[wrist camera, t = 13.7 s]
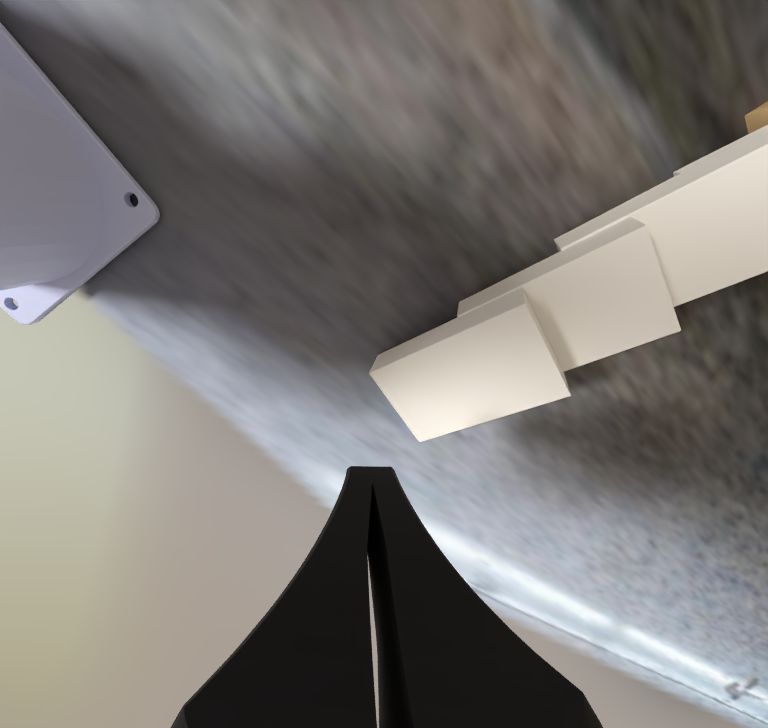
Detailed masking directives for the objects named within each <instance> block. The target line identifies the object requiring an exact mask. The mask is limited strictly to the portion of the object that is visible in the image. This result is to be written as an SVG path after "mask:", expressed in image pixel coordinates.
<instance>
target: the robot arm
mask: <svg viewBox="0 0 768 728" xmlns="http://www.w3.org/2000/svg"><path fill="white" fill-rule="evenodd" d="M131 194H135V195H136V196H137V198H138V205H137V206H136V207H135V206H133V205H132V203H131V202H130V196H131ZM159 216H160V213H159V209H158V207H157V206H156V204H155V203H154V202H153V201H152V199H151V198H150V197H149V196H148V195H147V194H146V192H145V191H144V190H143V189H142V188H141V187H140V185H139V184H138V183H137V182H136V181H135V180H134V178H133V177H132V176H131V175H130V174H129V172H128V171H127V170H126V169H125V168H124V167H123V165H122V164H121V163H120V162H119V161H118V160H117V158H116V157H115V156H114V155H113V154H112V153H111V151H110V150H109V149H108V148H107V147H106V146H105V144H104V143H103V142H102V141H101V140H100V138H99V137H98V136H97V135H96V134H95V133H94V131H93V130H92V129H91V128H90V127H89V126H88V124H87V123H86V122H85V121H84V120H83V119H82V117H81V116H80V115H79V114H78V113H77V112H76V110H75V109H74V108H73V107H72V106H71V104H70V103H69V102H68V101H67V100H66V99H65V97H64V96H63V95H62V94H61V93H60V92H59V90H58V89H57V88H56V87H55V86H54V85H53V83H52V82H51V81H50V80H49V79H48V78H47V76H46V75H45V74H44V73H43V72H42V70H41V69H40V68H39V67H38V66H37V65H36V63H35V62H34V61H33V60H32V59H31V58H30V56H29V55H28V54H27V53H26V52H25V51H24V49H23V48H22V47H21V46H20V45H19V44H18V42H17V41H16V40H15V39H14V38H13V37H12V35H11V34H10V33H9V32H8V31H7V29H6V28H5V27H4V26H3V25H2V24H1V22H0V307H1V308H2V309H4V310H5V311H6V312H7V313H8V314H9V315H10V316H11V317H13V318H14V319H15V320H16V321H18V322H19V323H22V324H25V325H30V324H33V323H36V322H39V321H40V320H41V319H43V318H44V317H45V316H46V315H47V314H49V313H50V312H51V311H52V310H53V309H54V308H56V307H57V306H58V305H59V304H60V303H62V302H63V301H64V300H65V299H66V298H67V297H69V296H70V295H71V294H72V293H74V292H75V291H76V290H77V289H78V288H80V287H81V286H82V285H83V284H84V283H85V282H87V281H88V280H89V279H90V278H91V277H93V276H94V275H95V274H96V273H97V272H99V271H100V270H101V269H102V268H103V267H105V266H106V265H107V264H108V263H109V262H111V261H112V260H113V259H114V258H115V257H116V256H118V255H119V254H120V253H121V252H122V251H124V250H125V249H126V248H127V247H128V246H130V245H131V244H132V243H133V242H134V241H136V240H137V239H138V238H139V237H140V236H142V235H143V234H144V233H145V232H146V231H147V230H149V229H150V228H151V227H152V226H153V225H155V224H156V223H157V221H158V220H159ZM13 299H14V300H16V302H17V303H18V307H17V306H16V305H15V304H14V303H13ZM367 556H368V560H369V570H370V578H371V589H372V599H373V608H374V618H375V628H376V639H377V654H378V688H379V689H378V690H379V691H378V692H379V728H603V727H602V725H601V723H600V721H599V720H598V718H597V716H596V714H595V713H594V711H593V709H592V708H591V706H590V704H589V702H588V701H587V699H586V697H585V696H584V694H583V692H582V691H580V690H579V689H578V688H577V687H576V686H574V685H573V684H572V683H571V682H570V681H569V680H567V679H566V678H565V677H564V676H562V675H561V674H560V673H559V672H558V671H556V670H555V669H554V668H553V667H551V665H549V664H548V663H547V662H546V661H545V660H543V659H542V658H541V657H540V656H539V655H538V654H536V653H535V652H534V651H533V650H532V649H531V648H530V647H529V646H528V645H527V644H525V642H523V641H522V640H521V639H520V638H519V637H518V636H517V635H516V634H515V633H514V632H513V631H512V630H511V629H510V628H509V627H508V626H507V625H506V624H505V623H504V622H503V621H502V620H501V619H500V618H499V617H498V616H497V615H496V614H495V613H494V612H493V611H492V610H491V609H490V608H489V607H488V606H487V605H486V604H485V603H484V601H483V600H482V599H481V598H480V597H479V596H478V595H477V594H476V593H475V592H474V591H473V590H472V588H471V587H470V586H469V585H468V584H467V583H466V581H465V580H464V579H463V578H462V577H461V576H460V574H459V573H458V572H457V571H456V569H455V568H454V567H453V566H452V564H451V563H450V562H449V561H448V559H447V558H446V557H445V555H444V554H443V553H442V551H441V550H440V549H439V547H438V546H437V544H436V543H435V542H434V540H433V539H432V537H431V536H430V534H429V533H428V531H427V530H426V528H425V527H424V525H423V524H422V522H421V520H420V519H419V517H418V515H417V514H416V512H415V510H414V509H413V507H412V505H411V504H410V502H409V500H408V498H407V496H406V494H405V493H404V491H403V489H402V487H401V485H400V482H399V480H398V478H397V476H396V473H395V471H394V469H393V468H392V467H363V466H351V467H349V468H348V469H347V472H346V477H345V481H344V484H343V487H342V489H341V492H340V495H339V497H338V500H337V502H336V504H335V506H334V508H333V510H332V513H331V515H330V517H329V519H328V521H327V523H326V525H325V527H324V528H323V530H322V532H321V534H320V535H319V537H318V539H317V541H316V543H315V544H314V546H313V548H312V549H311V551H310V553H309V554H308V556H307V558H306V559H305V561H304V562H303V564H302V565H301V567H300V568H299V570H298V571H297V573H296V574H295V576H294V577H293V579H292V580H291V581H290V583H289V584H288V586H287V587H286V588H285V590H284V591H283V592H282V594H281V595H280V597H279V598H278V599H277V601H276V602H275V603H274V604H273V606H272V607H271V608H270V610H269V611H268V612H267V613H266V615H265V616H264V617H263V618H262V619H261V621H260V622H259V623H258V625H256V627H255V628H254V629H253V630H252V631H251V633H250V634H249V635H248V636H247V637H246V639H245V640H244V641H243V642H242V643H241V644H240V646H239V647H238V648H237V649H236V650H235V651H234V652H233V654H232V655H231V656H230V657H229V658H228V659H227V660H226V661H225V662H224V663H223V664H222V666H221V667H220V668H219V669H218V670H217V671H216V672H215V673H214V674H213V675H212V676H211V677H210V678H209V679H208V680H207V681H206V682H205V684H203V686H202V687H201V688H200V689H199V690H198V691H197V692H196V693H195V694H194V695H193V696H192V697H191V698H190V699H189V700H188V701H187V702H186V703H185V705H184V706H183V707H182V709H181V710H180V712H179V714H178V716H177V717H176V719H175V721H174V723H173V725H172V727H171V728H377V722H376V707H375V692H374V677H373V661H372V644H371V626H370V607H369V585H368V560H367Z"/></svg>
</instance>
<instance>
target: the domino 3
mask: <svg viewBox="0 0 768 728" xmlns="http://www.w3.org/2000/svg"><path fill="white" fill-rule="evenodd" d="M628 217H632V218H634V219H636V220H638V221H640V222H641V223H643V224H645V225H646V226H647V229H648V232H649V235H650V238H651V241H652V244H653V247H654V250H655V253H656V256H657V259H658V262H659V265H660V268H661V271H662V274H663V277H664V280H665V283H666V286H667V289H668V292H669V295H670V298H671V301H672V304H673V307H675V306H678V305H681V304H683V303H686V302H688V301H691V300H694V299H696V298H699V297H702V296H704V295H707V294H709V293H712V292H715V291H717V290H720V289H723V288H725V287H728V286H730V285H733V284H736V283H738V282H741V281H744V280H746V279H749V278H751V277H754V276H757V275H759V274H762V273H764V272H767V271H768V132H759V133H757V134H755V135H753V136H751V137H749V138H747V139H745V140H743V141H741V142H740V143H738V144H736V145H734V146H732V147H730V148H728V149H726V150H724V151H722V152H720V153H718V154H717V155H715V156H713V157H711V158H709V159H707V160H705V161H703V162H701V163H699V164H697V165H695V166H694V167H692V168H690V169H688V170H686V171H684V172H682V173H680V174H678V175H676V176H674V177H672V178H671V179H669V180H667V181H665V182H663V183H661V184H659V185H657V186H655V187H653V188H651V189H649V190H648V191H646V192H644V193H642V194H640V195H638V196H636V197H634V198H632V199H630V200H628V201H626V202H625V203H623V204H621V205H619V206H617V207H615V208H613V209H611V210H609V211H607V212H605V213H603V214H602V215H600V216H598V217H596V218H594V219H592V220H590V221H588V222H586V223H584V224H582V225H580V226H579V227H577V228H575V229H573V230H571V231H569V232H567V233H565V234H563V235H561V236H559V237H557V238H556V239H554V242H555V244H556V246H557V248H558V251H559V252H560V251H562V250H564V249H566V248H568V247H570V246H572V245H574V244H576V243H578V242H580V241H582V240H584V239H586V238H588V237H590V236H592V235H594V234H596V233H598V232H600V231H602V230H604V229H606V228H608V227H610V226H612V225H614V224H616V223H618V222H620V221H622V220H624V219H626V218H628Z"/></svg>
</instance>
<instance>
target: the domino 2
mask: <svg viewBox="0 0 768 728" xmlns="http://www.w3.org/2000/svg"><path fill="white" fill-rule="evenodd" d="M521 287H522V289H523V291H524V293H525V295H526V297H527V299H528V301H529V303H530V305H531V307H532V309H533V311H534V313H535V315H536V317H537V319H538V321H539V323H540V326H541V328H542V330H543V332H544V334H545V336H546V338H547V340H548V342H549V344H550V346H551V348H552V350H553V352H554V354H555V356H556V358H557V360H558V362H559V364H560V366H561V368H562V370H563V372H564V371H567V370H570V369H573V368H576V367H579V366H582V365H584V364H587V363H590V362H593V361H596V360H599V359H602V358H604V357H607V356H610V355H613V354H616V353H619V352H622V351H624V350H627V349H630V348H633V347H636V346H639V345H642V344H645V343H647V342H650V341H653V340H656V339H659V338H662V337H665V336H667V335H670V334H673V333H676V332H679V331H681V328H680V325H679V322H678V319H677V316H676V313H675V310H674V307H673V304H672V301H671V298H670V295H669V292H668V289H667V286H666V283H665V280H664V277H663V274H662V271H661V268H660V265H659V262H658V259H657V256H656V253H655V250H654V247H653V244H652V241H651V238H650V235H649V232H648V229H647V226H646V225H645V224H643V223H641V222H640V221H638V220H636V219H634V218H632V217H628V218H626V219H624V220H622V221H620V222H618V223H616V224H614V225H612V226H610V227H608V228H606V229H604V230H602V231H600V232H598V233H596V234H594V235H592V236H590V237H588V238H586V239H584V240H582V241H580V242H578V243H576V244H574V245H572V246H570V247H568V248H566V249H564V250H562V251H560V252H558V253H556V254H554V255H552V256H550V257H548V258H546V259H544V260H542V261H540V262H538V263H536V264H534V265H532V266H530V267H528V268H526V269H524V270H522V271H520V272H518V273H516V274H514V275H512V276H510V277H508V278H506V279H504V280H502V281H500V282H498V283H496V284H494V285H492V286H490V287H488V288H486V289H484V290H482V291H480V292H478V293H476V294H474V295H472V296H470V297H468V298H466V299H464V300H462V301H460V302H459V306H458V313H457V317H460V316H462V315H464V314H466V313H468V312H470V311H472V310H474V309H477V308H479V307H481V306H483V305H485V304H487V303H489V302H491V301H494V300H496V299H498V298H500V297H502V296H504V295H506V294H508V293H511V292H513V291H515V290H517V289H519V288H521Z"/></svg>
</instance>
